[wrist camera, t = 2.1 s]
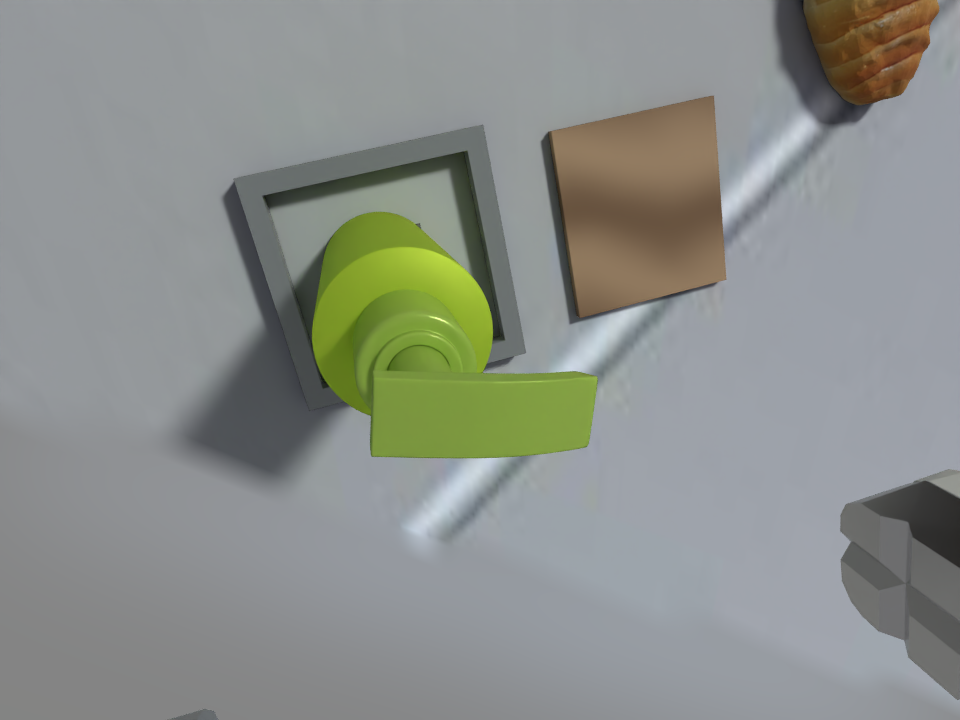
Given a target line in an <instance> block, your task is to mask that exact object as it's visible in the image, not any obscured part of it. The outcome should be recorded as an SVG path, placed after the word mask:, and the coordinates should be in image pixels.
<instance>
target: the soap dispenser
mask: <svg viewBox="0 0 960 720" xmlns="http://www.w3.org/2000/svg"><path fill="white" fill-rule="evenodd" d="M492 340H493V323H492V316H491V312H490V308H489V305H488V302H487V300H486V297H485V295H484V293H483V291H482V290H481V288H480V286H479V285H478V283H477V282H476V281H475V279H474V278H473V277H472V276H471V275H470V274H469V273H468V272H467V271H466V270H465V269H464V268H463V267H462V266H461V265H460V264H459V263H458V262H456V261H455V260H454V259H453V258H452V257H451V256H450V255H449V254H448V253H447V252H446V251H444V250H443V249H442V248H441V247H440V246H439V245H438V244H437V243H436V242H435V241H433V240H432V239H431V238H430V237H429V236H428V235H427V234H426V233H425V232H424V231H423V230H421V229H420V228H419V227H418V226H417V225H416V224H414V223H413V222H412V221H410V220H408V219H406V218H404V217H402V216H400V215H397V214H393V213H387V212H371V213H366V214H362V215H359V216H357V217H355V218H353V219H351V220H349V221H348V222H346V223H345V224H344V225H342V226H341V227H340V228H339V229H338V230H337V231H336V232H335V234H334V235H333V236H332V238H331V239H330V241H329V243H328V245H327V248H326V250H325V254H324V258H323V264H322V270H321V276H320V282H319V288H318V294H317V300H316V306H315V312H314V318H313V325H312V345H313V351H314V356H315V359H316V362H317V365H318V368H319V370H320V372H321V374H322V376H323V378H324V379H325V381H326V382H327V384H328V385H329V387H330V388H331V389H332V390H333V391H334V392H335V393H336V394H337V395H338V396H339V397H340V398H341V399H342V400H343V401H344V402H346V403H347V404H348V405H350V406H351V407H353V408H355V409H356V410H358V411H360V412H362V413H365V414H367V415H370V416H371V430H370V450H371V456H372V457H407V458H499V457H517V456H529V455H538V454H547V453H554V452H561V451H568V450H574V449H580V448H584V447H587V446H588V444H589V439H590V432H591V426H592V419H593V412H594V405H595V397H596V390H597V382H598V378H597V376H593V375H589V374H586V373H582V372H576V371H573V372H556V373H532V374H496V373H483V371H484V369H485V367H486V364H487V362H488V359H489V356H490V352H491V347H492Z"/></svg>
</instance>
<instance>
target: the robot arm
mask: <svg viewBox="0 0 960 720" xmlns="http://www.w3.org/2000/svg"><path fill="white" fill-rule="evenodd" d="M840 531H841V532H842V533H843V534H844V535H845V536H846V537H847V538H848V539H849V540H850V541H851V543H850V544H849V546H848V548H847V550H846V551H845V553H844V555H843V557H842V558H841V572H842V582H843V584H844V586H845V589H846V591H847V593H848V595H849V598H850V600H851V602H852V603H853V605H854V606H855V607H856V609H857V610H858V611H859V613H860V614H861V615H862V616H863V617H864V618H865V619H866V620H867V621H868V622H869V623H870V624H871V625H872V626H873V627H875V628H876V629H877V630H878V631H880V632H882V633H885V634H888V635H891V636H894V637H896V638H899V639H902V640H904V641H905V645H906V649H907V654H908V658H910V659H911V660H912V661H913V662H914V663H915V664H917V665H918V666H919V667H920V668H921V669H922V670H923V671H925V672H926V673H927V674H928V675H929V676H930V677H931V678H933V679H934V680H935V681H936V682H937V683H938V684H939V685H941V686H942V687H943V688H944V689H945V690H946V691H947V692H949V693H950V694H951V695H952V696H953V697H954V698H956V699H957V700H959V699H960V471H957V470H951V469H948V470H945V471H942V472H939V473H936V474H933V475H930V476H928V477H925V478H922V479H919V480H916V481H914V482H913V483H909V484H906V485H903V486H900V487H897V488H894V489H891V490H888V491H884V492H881V493H878V494H875V495H872V496H869V497H866V498H863V499H860V500H857V501H854V502H851V503H848V504H846V505H845V507H844V509H843V511H842V513H841V526H840ZM169 720H218V718H217V716H216V714H215V712H214V711H212V710H207V709H203V710H200V711H196V712H193V713H189V714H186V715H183V716H179V717H176V718H172V719H169Z"/></svg>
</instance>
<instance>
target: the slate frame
mask: <svg viewBox="0 0 960 720" xmlns="http://www.w3.org/2000/svg"><path fill="white" fill-rule="evenodd" d="M462 151H464V154H465V159H466V164H467V169H468V174H469V179H470V184H471V189H472V194H473V199H474V204H475V209H476V214H477V219H478V224H479V229H480V234H481V239H482V244H483V249H484V254H485V259H486V264H487V269H488V273H489V278H490V283H491V288H492V293H493V298H494V303H495V308H496V313H497V318H498V323H499V328H500V333H501V336H499V337H495V338H493V340H492V347H491V352H490V356H489V359H488V362H487V363H491V362H495V361H498V360H502V359H506V358H510V357H513V356H517V355H521V354H525V353H526V350H525V345H524V339H523V334H522V329H521V323H520V318H519V313H518V307H517V302H516V297H515V291H514V286H513V281H512V276H511V270H510V265H509V260H508V254H507V249H506V244H505V238H504V233H503V228H502V222H501V217H500V212H499V206H498V201H497V196H496V191H495V185H494V180H493V175H492V169H491V164H490V159H489V153H488V148H487V143H486V137H485V132H484V127H483V125H479V126H475V127H470V128H466V129H461V130H456V131H452V132H447V133H442V134H438V135H433V136H429V137H424V138H419V139H415V140H410V141H405V142H401V143H396V144H392V145H387V146H382V147H378V148H373V149H368V150H364V151H359V152H355V153H350V154H345V155H341V156H336V157H331V158H327V159H322V160H317V161H313V162H308V163H304V164H299V165H294V166H290V167H285V168H280V169H276V170H271V171H267V172H262V173H257V174H253V175H248V176H243V177H239V178H234V182H235V185H236V188H237V191H238V194H239V197H240V200H241V204H242V207H243V210H244V213H245V216H246V219H247V222H248V225H249V228H250V231H251V234H252V237H253V240H254V243H255V246H256V250H257V253H258V256H259V259H260V262H261V265H262V268H263V271H264V274H265V277H266V280H267V283H268V286H269V289H270V292H271V295H272V299H273V302H274V305H275V308H276V311H277V314H278V317H279V320H280V323H281V326H282V329H283V332H284V335H285V338H286V341H287V344H288V348H289V351H290V354H291V357H292V360H293V363H294V366H295V369H296V372H297V375H298V378H299V381H300V384H301V387H302V390H303V393H304V397H305V400H306V403H307V406H308V409H309V411H311V410H315V409H319V408H323V407H326V406H330V405H334V404H338V403H341V402H344V401H343V400H342V399H341V398H340V397H339V396H338V395H337V394H336V393H335V392H334V391H333V390H332V389H331V388H330V387H329V385H328V384H327V382H323V380H322V377H321V374H320V371H319V368H318V365H317V362H316V359H315V356H314V351H313V348H312V345H311V342H310V339H309V335H308V332H307V329H306V326H305V323H304V319H303V316H302V313H301V310H300V307H299V303H298V300H297V297H296V294H295V291H294V287H293V284H292V281H291V278H290V275H289V271H288V268H287V265H286V262H285V259H284V255H283V252H282V249H281V246H280V243H279V239H278V236H277V233H276V230H275V227H274V224H273V220H272V217H271V214H270V211H269V208H268V204H267V201H266V198H265V195H268V194H272V193H277V192H281V191H286V190H290V189H295V188H299V187H304V186H309V185H313V184H318V183H322V182H327V181H331V180H336V179H340V178H345V177H349V176H354V175H358V174H363V173H367V172H372V171H376V170H381V169H385V168H390V167H395V166H399V165H404V164H408V163H413V162H417V161H422V160H426V159H431V158H435V157H440V156H444V155H449V154H453V153H458V152H462ZM416 225H417V226H418V227H419V228H420V229H421V227H420V223H419V224H416Z"/></svg>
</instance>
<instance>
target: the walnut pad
mask: <svg viewBox="0 0 960 720" xmlns="http://www.w3.org/2000/svg"><path fill="white" fill-rule="evenodd" d="M548 133H549V140H550V146H551V152H552V159H553V165H554V172H555V178H556V185H557V191H558V198H559V204H560V210H561V217H562V223H563V230H564V236H565V243H566V249H567V256H568V262H569V268H570V275H571V281H572V288H573V294H574V301H575V307H576V314H577V316H578V317H579V318H582V317H586V316H590V315H594V314H597V313H601V312H605V311H609V310H613V309H616V308H620V307H624V306H628V305H632V304H635V303H639V302H643V301H647V300H651V299H654V298H658V297H662V296H666V295H670V294H673V293H677V292H681V291H685V290H689V289H692V288H696V287H700V286H704V285H708V284H711V283H715V282H719V281H723V280H726V269H725V254H724V239H723V225H722V210H721V195H720V181H719V166H718V151H717V137H716V122H715V107H714V96H709V97H704V98H699V99H695V100H690V101H686V102H681V103H677V104H672V105H668V106H663V107H659V108H654V109H650V110H645V111H641V112H636V113H632V114H627V115H622V116H618V117H613V118H609V119H604V120H600V121H595V122H591V123H586V124H582V125H577V126H573V127H568V128H564V129H559V130H554V131H550V132H548Z"/></svg>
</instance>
